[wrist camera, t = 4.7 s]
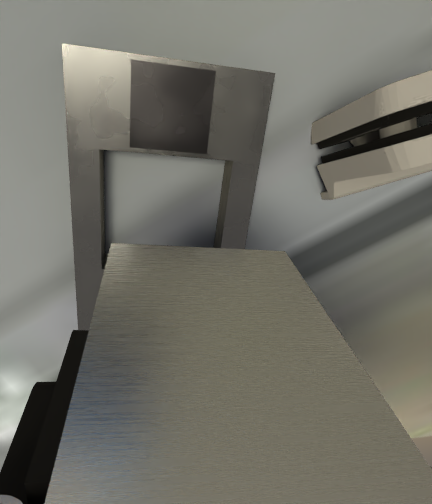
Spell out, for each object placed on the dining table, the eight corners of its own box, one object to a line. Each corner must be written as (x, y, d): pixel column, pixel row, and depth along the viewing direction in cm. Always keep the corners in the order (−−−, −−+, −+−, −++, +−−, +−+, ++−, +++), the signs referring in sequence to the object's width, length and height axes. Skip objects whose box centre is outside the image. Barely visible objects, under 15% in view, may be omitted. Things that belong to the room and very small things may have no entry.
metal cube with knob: (285, 251, 12) (550, 645, 4) (256, 375, 14) (382, 776, 6) (111, 243, 11) (-20, 748, 3) (112, 377, 13) (42, 857, 5)
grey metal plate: (263, 72, 20) (275, 73, 18) (225, 311, 27) (230, 329, 25) (70, 45, 18) (61, 43, 16) (83, 311, 25) (78, 331, 23)
